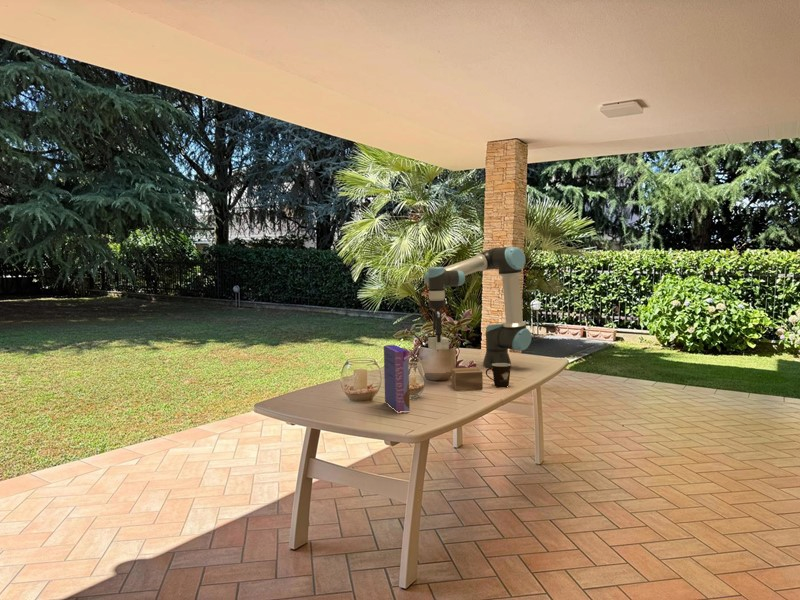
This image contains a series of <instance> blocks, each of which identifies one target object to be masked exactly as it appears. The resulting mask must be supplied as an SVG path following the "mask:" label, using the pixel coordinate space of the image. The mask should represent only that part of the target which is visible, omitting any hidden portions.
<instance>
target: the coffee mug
mask: <svg viewBox="0 0 800 600" xmlns="http://www.w3.org/2000/svg"><path fill="white" fill-rule="evenodd" d="M511 367H512V363H511V364H507V363H494V364H492V368H487V369H486V371H485V375H486V376H487V377H488V378H489V379H490V380H491V381H493V384H494V387H495V386H496V387H495V388H498V387H506V388H508V387H507V386H510V376H511ZM490 370H491V372H492V375H493V377H491V376H490V375H488V372H489V371H490Z"/></svg>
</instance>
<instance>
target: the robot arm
mask: <svg viewBox="0 0 800 600" xmlns="http://www.w3.org/2000/svg"><path fill="white" fill-rule="evenodd" d="M526 263H527V262H526V255H525V253H524V251H523V250H522V249H521V248H519V247H518V246H517V247H516V246H505V247H493V248H490V249H487V250H484V251H481V252H479V253H477V254H475V255H474V257H470V258H467V259H465V260H462V261H459V262H455V263H453V264H449V265H447V266H430V267H429V268H428V271H426V272H425V274H424V282H425V284H426V285H428V292H427V296H428V299H429V300H428V308H429V309H433V310H432V315H431V316H432V330H433V329H434V330H435V329H436V334H434V335H436V349H441V350H443V349H442V336H443V335H442V334H443V330H442V329H443V328H442V324H443V323H442V312H441V309H444V308H446V301H445V299H446V296H445V294H446V291H445V290H446V289H445V288H446V287H459V286H460V287H461V286H462V285H464V283H465V281H466V276H468V275H470V274H473V273H476V272H479V271H480V272H484V271H489V270H491V271H492V270H498V275H499V276H500V277H501V279H502V289H503V290H502V291H503V303H504V305H503V306H504V316H505V322H504V323H498V324H497V323H496V324H488V325H487V326H486V328H485V355H484V358H483V362H482V366H483V367H484V366H485V367H484V368H487V367H488V368H487V369H489V368H491V369H492V364H494V363H507V364H511V365H512V362H511V361H512V360H511V358H510V355H509V352H508V351H509V350H512V351H517V352H518V351H525V350H526V349H528V348H529V346H530V345H531V343H532V332H531V331H530V330H529V329H528V328H527V324H526V322H525V321H523V312H522V311H523V308H522V297H521V286H520V276H521V274H522V271H523V270H522V269H523V268H524V267H525V265H526Z"/></svg>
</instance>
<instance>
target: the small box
mask: <svg viewBox="0 0 800 600" xmlns="http://www.w3.org/2000/svg"><path fill="white" fill-rule="evenodd" d="M449 341H450V339H449V337H445V336H443V337H442V349H436V337H433V336H432V337H429V336H428V338H427V343H428V345H427V346H428V349H430V350H432V351H437V350H449V349H450V343H449Z"/></svg>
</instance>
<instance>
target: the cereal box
mask: <svg viewBox="0 0 800 600" xmlns="http://www.w3.org/2000/svg"><path fill="white" fill-rule="evenodd" d="M409 358H410V355H409V350H406V349H404V348H402V347H400V346H398V345H396V344H386V345H383V368H384V369H383V370H384V371H383V372H384V403H385V402H386V403H388V404H389V405H390V406H391V407H392V408H394V409H395V410H396V411H398V412H400V411H410V410H411V409H410V367H409V364H410V363H409ZM410 412H411V411H410Z"/></svg>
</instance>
